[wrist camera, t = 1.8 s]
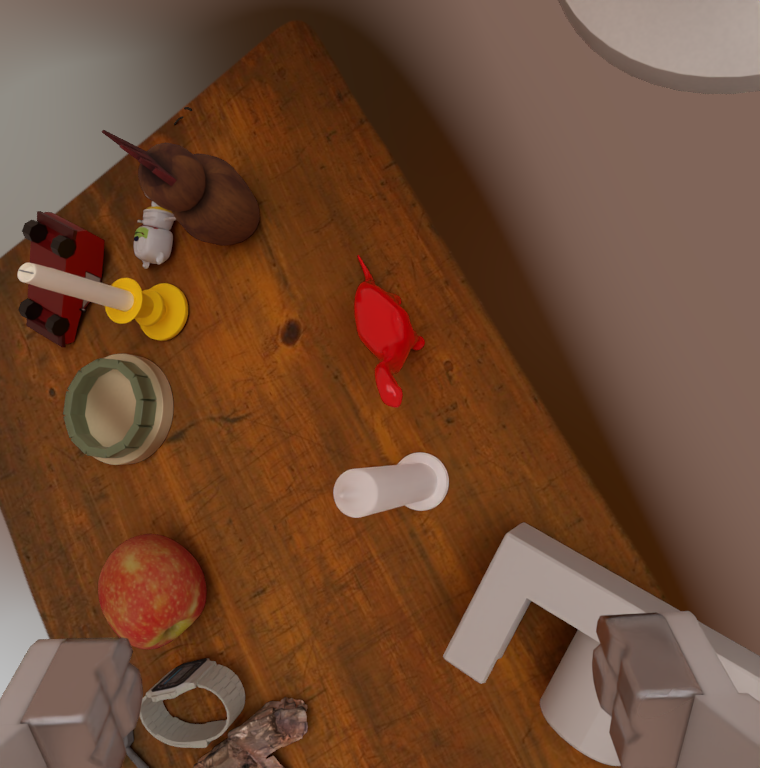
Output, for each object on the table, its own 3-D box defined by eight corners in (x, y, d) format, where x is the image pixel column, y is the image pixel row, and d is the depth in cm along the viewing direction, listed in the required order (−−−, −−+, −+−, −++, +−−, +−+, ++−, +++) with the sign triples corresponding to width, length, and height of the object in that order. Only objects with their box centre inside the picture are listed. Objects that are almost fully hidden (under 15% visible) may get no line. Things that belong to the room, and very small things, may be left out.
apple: (177, 647, 57) (109, 677, 49) (128, 567, 59) (57, 584, 52) (239, 591, 55) (179, 614, 48) (187, 511, 58) (122, 521, 50)
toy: (177, 88, 56) (148, 262, 56) (210, 104, 58) (182, 271, 58) (141, 102, 61) (114, 263, 61) (172, 116, 63) (146, 271, 63)
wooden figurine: (200, 204, 60) (72, 131, 46) (250, 168, 59) (133, 81, 45) (228, 266, 59) (103, 210, 44) (280, 231, 57) (168, 161, 43)
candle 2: (405, 518, 51) (319, 547, 36) (386, 464, 52) (294, 471, 37) (457, 499, 50) (389, 521, 35) (437, 444, 51) (362, 443, 36)
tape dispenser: (800, 678, 41) (825, 717, 35) (726, 805, 42) (739, 862, 36) (522, 520, 48) (506, 531, 42) (465, 632, 49) (441, 658, 43)
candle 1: (170, 272, 60) (27, 217, 46) (198, 315, 59) (59, 273, 44) (132, 309, 61) (-20, 267, 47) (158, 352, 60) (10, 323, 45)
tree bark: (194, 757, 55) (175, 771, 53) (298, 678, 53) (283, 689, 50) (229, 822, 54) (211, 839, 51) (338, 744, 51) (325, 758, 49)
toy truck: (52, 352, 61) (99, 341, 65) (61, 233, 56) (111, 229, 61) (12, 326, 63) (60, 317, 67) (17, 209, 58) (68, 207, 63)
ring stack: (122, 334, 62) (96, 329, 59) (193, 396, 59) (169, 394, 56) (68, 421, 63) (40, 420, 60) (134, 486, 60) (108, 488, 57)
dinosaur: (378, 242, 54) (311, 187, 42) (468, 401, 50) (422, 389, 39) (339, 269, 55) (263, 222, 43) (425, 427, 51) (367, 422, 40)
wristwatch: (242, 647, 55) (207, 666, 50) (262, 726, 53) (227, 753, 49) (154, 669, 57) (113, 689, 53) (170, 746, 56) (129, 773, 51)
